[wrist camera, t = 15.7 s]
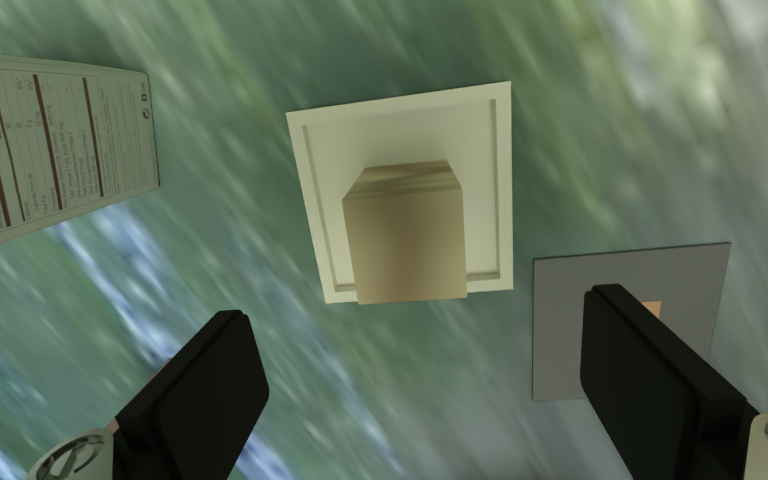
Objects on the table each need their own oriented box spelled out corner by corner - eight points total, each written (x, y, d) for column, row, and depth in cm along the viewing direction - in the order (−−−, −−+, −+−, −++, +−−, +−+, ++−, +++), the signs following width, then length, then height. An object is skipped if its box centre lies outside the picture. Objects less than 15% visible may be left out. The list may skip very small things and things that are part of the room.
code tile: (729, 242, 23) (732, 243, 23) (698, 391, 28) (700, 394, 27) (533, 259, 25) (534, 260, 25) (532, 398, 29) (532, 401, 29)
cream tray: (504, 82, 21) (510, 80, 20) (507, 278, 26) (513, 289, 24) (293, 111, 23) (285, 112, 21) (330, 293, 27) (325, 303, 26)
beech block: (446, 159, 22) (462, 188, 15) (450, 236, 24) (467, 297, 17) (364, 167, 23) (341, 200, 15) (375, 242, 25) (358, 304, 17)
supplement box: (58, 175, 25) (-250, 240, 14) (35, 56, 23) (-372, 9, 11) (163, 190, 25) (-56, 271, 13) (153, 72, 23) (-134, 42, 11)
